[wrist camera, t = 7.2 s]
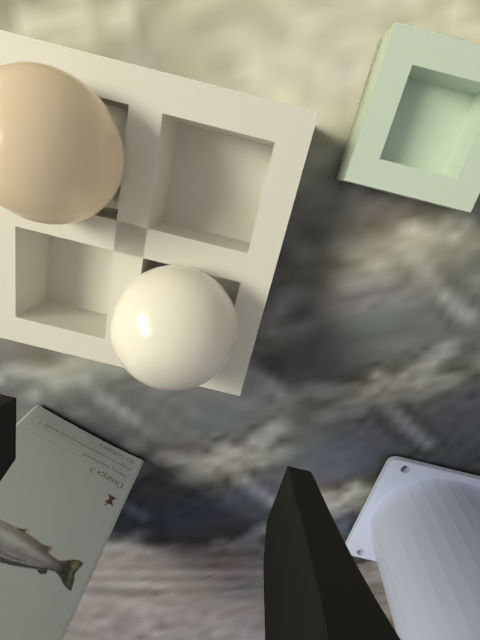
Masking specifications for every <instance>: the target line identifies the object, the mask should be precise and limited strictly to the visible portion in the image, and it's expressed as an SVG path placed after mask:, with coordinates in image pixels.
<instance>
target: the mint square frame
mask: <svg viewBox="0 0 480 640" xmlns="http://www.w3.org/2000/svg"><path fill="white" fill-rule="evenodd" d="M336 180H339V181H343V182H347V183H351V184H354V185H358V186H362V187H366V188H370V189H374V190H378V191H382V192H386V193H390V194H394V195H398V196H401V197H405V198H409V199H413V200H417V201H421V202H425V203H429V204H433V205H437V206H441V207H445V208H449V209H454V210H460V211H465V212H470V213H471V211H472V209H473V207H474V204H475V202H476V200H477V198H478V196H479V194H480V44H478V43H475V42H471V41H467V40H463V39H459V38H456V37H452V36H448V35H444V34H440V33H436V32H433V31H429V30H425V29H421V28H417V27H414V26H410V25H406V24H402V23H398V22H395V23H394V24H393V25H392V26H391V28H390V29H389V30H388V31H387V33H386V34H385V35H384V36H383V38H382V39H381V40H380V41H379V43H378V46H377V49H376V52H375V55H374V59H373V62H372V65H371V68H370V71H369V75H368V78H367V81H366V84H365V87H364V90H363V94H362V97H361V100H360V103H359V106H358V110H357V113H356V116H355V119H354V122H353V126H352V129H351V132H350V135H349V138H348V142H347V145H346V148H345V151H344V154H343V157H342V161H341V164H340V167H339V170H338V173H337V177H336Z"/></svg>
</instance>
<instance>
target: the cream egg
mask: <svg viewBox="0 0 480 640" xmlns="http://www.w3.org/2000/svg"><path fill="white" fill-rule="evenodd" d="M237 333H238V322H237V315H236V311H235V308H234V305H233V303H232V300H231V299H230V297H229V295H228V293H227V292H226V291H225V289H224V288H223V287H222V286H221V285H220V284H219V283H218V282H217V281H216V280H215V279H213V278H212V277H211V276H209V275H208V274H206V273H204V272H202V271H200V270H198V269H195V268H192V267H188V266H183V265H166V266H161V267H156V268H153V269H150V270H148V271H146V272H144V273H142V274H140V275H139V276H137V277H136V278H135V279H133V280H132V281H131V282H130V283H129V284H128V285H127V286H126V287H125V288H124V290H123V291H122V292H121V294H120V295H119V297H118V299H117V301H116V303H115V305H114V308H113V311H112V315H111V321H110V335H111V342H112V346H113V349H114V351H115V354H116V356H117V357H118V359H119V361H120V363H121V364H122V365H123V367H124V368H125V369H126V370H127V371H128V372H129V373H130V374H131V375H132V376H133V377H134V378H136V379H137V380H138V381H140V382H142V383H144V384H146V385H148V386H150V387H153V388H156V389H160V390H167V391H181V390H187V389H191V388H194V387H197V386H199V385H202V384H204V383H206V382H207V381H209V380H210V379H212V378H213V377H214V376H215V375H217V374H218V373H219V372H220V371H221V370H222V369H223V367H224V366H225V365H226V363H227V362H228V361H229V359H230V357H231V355H232V353H233V350H234V347H235V344H236V340H237Z"/></svg>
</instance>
